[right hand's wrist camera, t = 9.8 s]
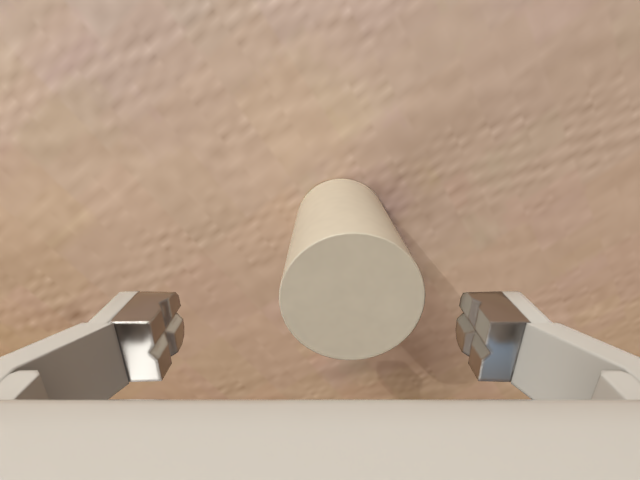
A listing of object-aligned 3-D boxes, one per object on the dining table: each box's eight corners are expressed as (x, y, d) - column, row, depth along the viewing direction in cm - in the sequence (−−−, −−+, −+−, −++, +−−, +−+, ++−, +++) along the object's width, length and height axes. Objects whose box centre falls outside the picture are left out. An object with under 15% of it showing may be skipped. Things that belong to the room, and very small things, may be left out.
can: (283, 242, 20) (257, 331, 12) (318, 163, 18) (314, 207, 10) (360, 274, 20) (382, 378, 13) (400, 200, 19) (454, 269, 11)
